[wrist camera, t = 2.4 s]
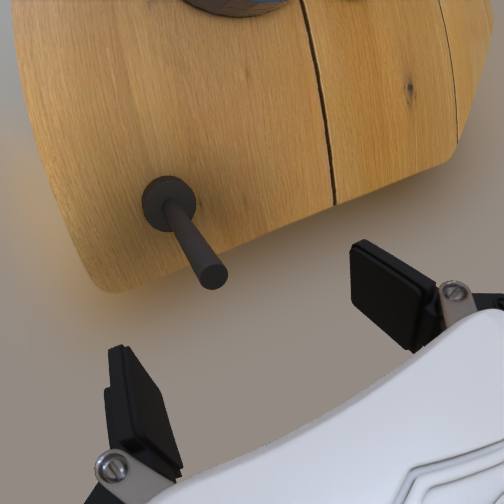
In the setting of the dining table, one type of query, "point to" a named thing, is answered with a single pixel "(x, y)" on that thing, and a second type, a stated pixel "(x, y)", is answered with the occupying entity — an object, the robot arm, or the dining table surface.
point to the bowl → (239, 6)
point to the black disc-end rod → (182, 227)
